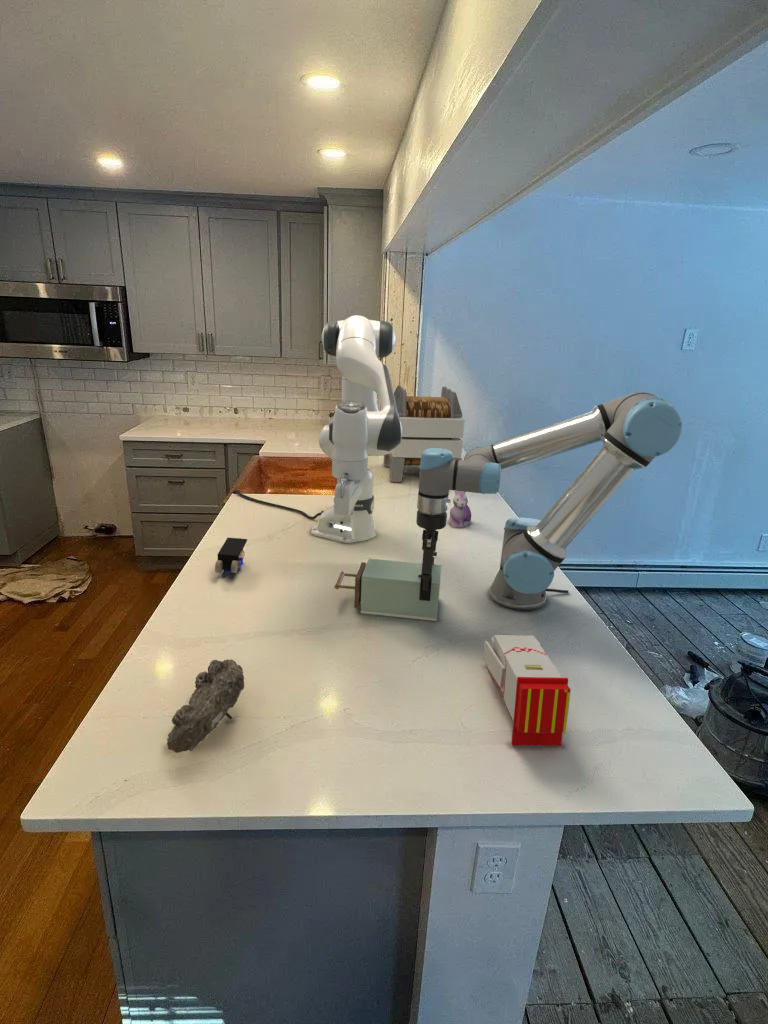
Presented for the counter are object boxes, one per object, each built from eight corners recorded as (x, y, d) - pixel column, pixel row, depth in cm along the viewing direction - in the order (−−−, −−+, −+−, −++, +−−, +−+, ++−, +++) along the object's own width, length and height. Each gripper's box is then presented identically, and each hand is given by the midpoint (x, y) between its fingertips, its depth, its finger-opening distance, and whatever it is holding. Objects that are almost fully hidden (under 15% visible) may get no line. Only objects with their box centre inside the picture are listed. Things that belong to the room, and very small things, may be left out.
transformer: (382, 463, 289) (386, 382, 275) (445, 464, 293) (451, 384, 279) (390, 482, 257) (394, 392, 243) (460, 483, 261) (468, 394, 247)
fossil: (192, 660, 117) (244, 628, 112) (224, 691, 120) (276, 661, 115) (142, 746, 98) (202, 712, 93) (182, 779, 101) (242, 748, 96)
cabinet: (360, 613, 147) (361, 576, 144) (367, 593, 158) (368, 558, 154) (436, 620, 145) (439, 583, 141) (438, 600, 155) (441, 565, 152)
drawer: (333, 605, 148) (333, 576, 145) (341, 588, 158) (341, 560, 155) (424, 615, 146) (427, 585, 143) (427, 596, 155) (429, 568, 152)
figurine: (457, 529, 205) (460, 490, 200) (441, 520, 214) (444, 482, 209) (478, 526, 210) (482, 487, 205) (462, 517, 218) (465, 480, 213)
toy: (531, 618, 129) (580, 685, 100) (526, 672, 132) (572, 753, 102) (478, 617, 129) (511, 684, 99) (475, 671, 131) (505, 752, 102)
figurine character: (238, 584, 162) (249, 557, 175) (236, 562, 158) (247, 536, 172) (215, 584, 161) (227, 556, 175) (212, 561, 158) (225, 535, 171)
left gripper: (354, 481, 130) (353, 537, 135) (368, 459, 150) (366, 509, 154) (327, 479, 131) (327, 534, 136) (345, 457, 150) (344, 507, 155)
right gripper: (445, 529, 130) (438, 612, 137) (448, 497, 152) (442, 571, 159) (413, 526, 131) (407, 609, 138) (420, 495, 153) (415, 568, 160)
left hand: (348, 520), depth 145 cm, fingers closed
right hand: (426, 589), depth 149 cm, fingers closed on cabinet, 11 cm apart
